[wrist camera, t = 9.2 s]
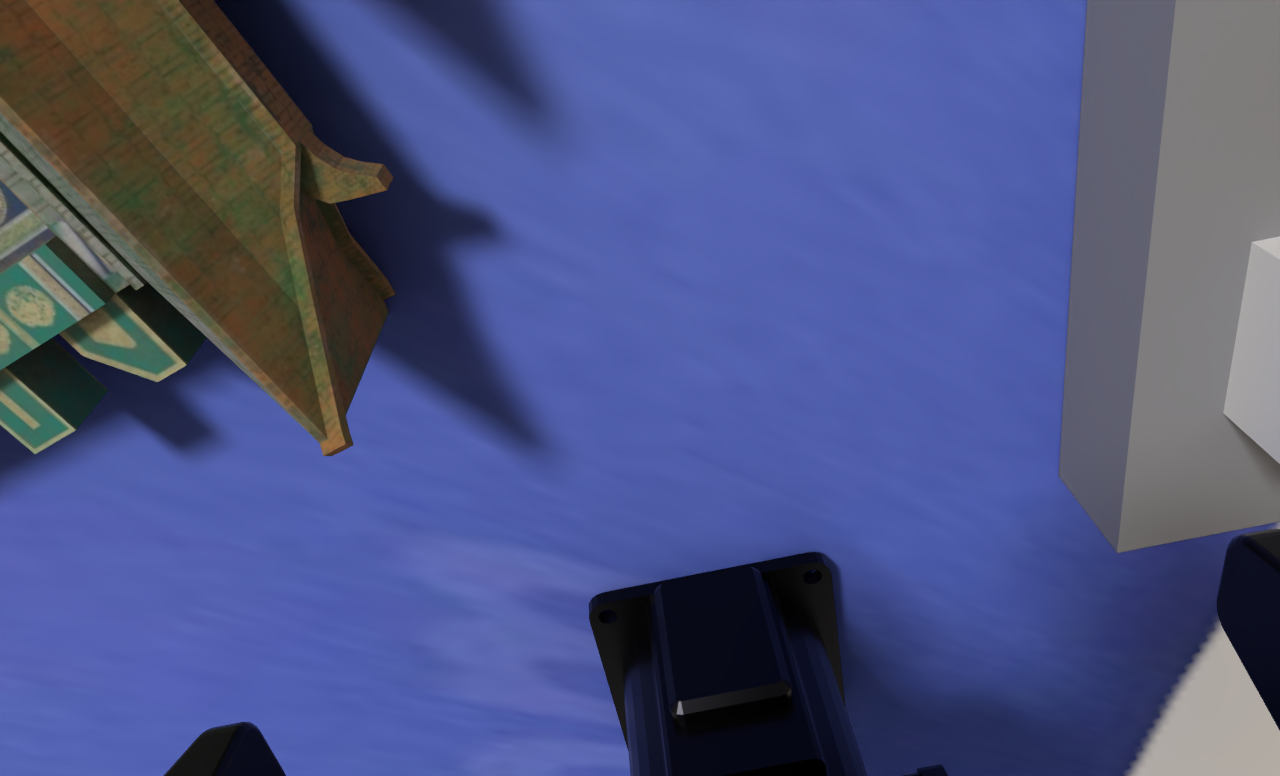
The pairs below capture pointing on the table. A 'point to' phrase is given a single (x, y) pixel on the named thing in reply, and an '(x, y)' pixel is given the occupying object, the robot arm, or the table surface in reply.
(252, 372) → the miniature gate
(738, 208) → the table surface
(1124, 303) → the hinge plinth
